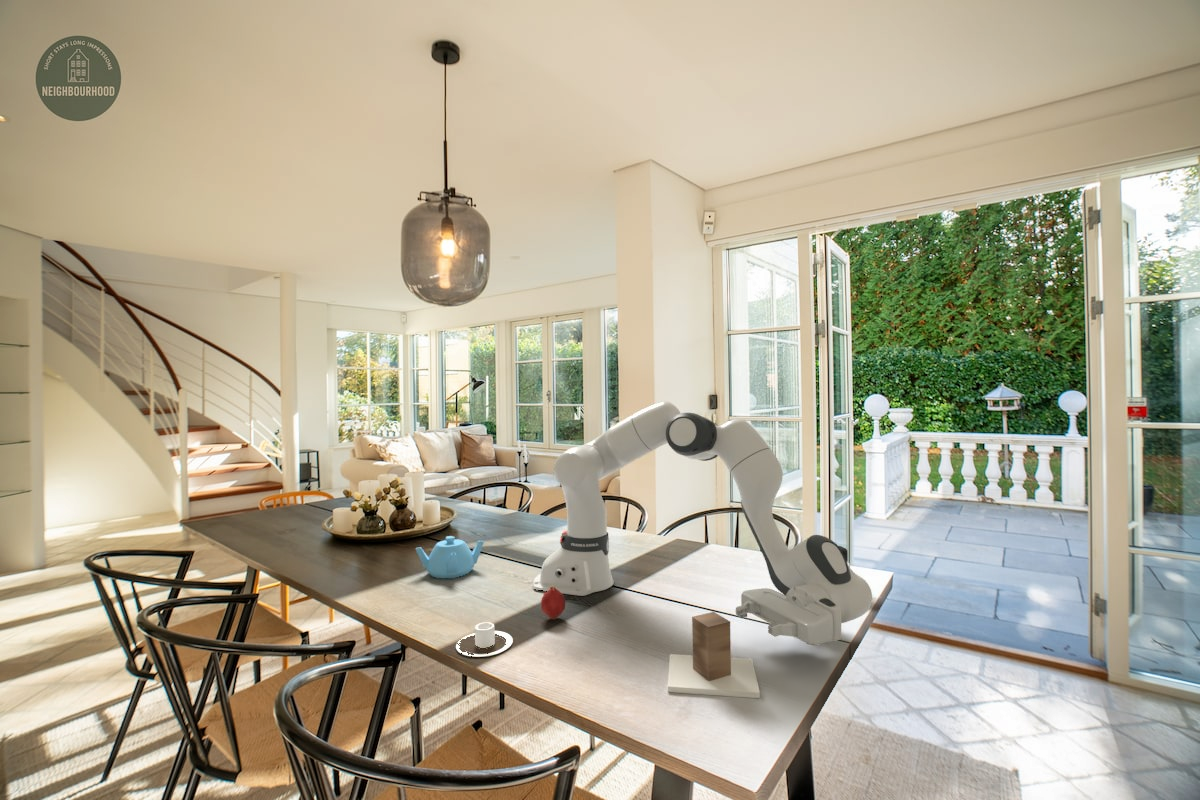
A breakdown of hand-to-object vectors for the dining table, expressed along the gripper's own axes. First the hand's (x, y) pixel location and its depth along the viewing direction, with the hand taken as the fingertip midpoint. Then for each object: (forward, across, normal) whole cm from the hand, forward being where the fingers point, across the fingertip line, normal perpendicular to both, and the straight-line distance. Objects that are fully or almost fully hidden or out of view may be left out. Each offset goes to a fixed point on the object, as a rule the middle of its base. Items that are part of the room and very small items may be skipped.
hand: (753, 621), depth 106 cm
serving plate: (+10, 0, +9) cm, 13 cm away
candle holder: (+45, -33, +9) cm, 57 cm away
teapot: (+44, -84, +9) cm, 95 cm away
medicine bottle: (-44, -20, +9) cm, 50 cm away
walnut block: (+10, 0, +8) cm, 13 cm away
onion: (+28, -39, +9) cm, 48 cm away
